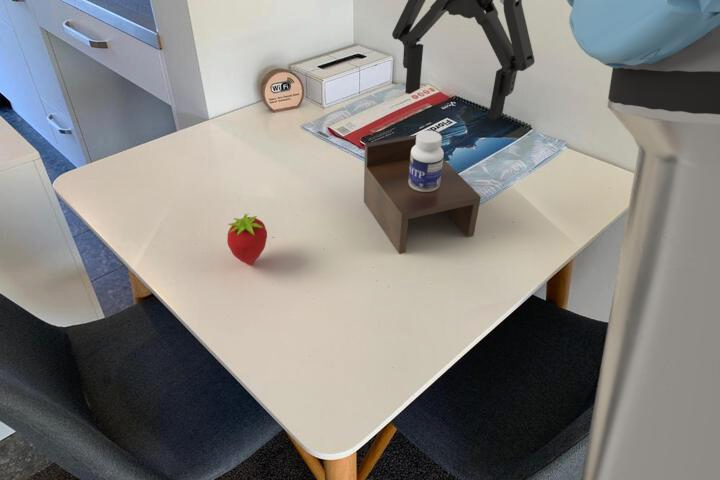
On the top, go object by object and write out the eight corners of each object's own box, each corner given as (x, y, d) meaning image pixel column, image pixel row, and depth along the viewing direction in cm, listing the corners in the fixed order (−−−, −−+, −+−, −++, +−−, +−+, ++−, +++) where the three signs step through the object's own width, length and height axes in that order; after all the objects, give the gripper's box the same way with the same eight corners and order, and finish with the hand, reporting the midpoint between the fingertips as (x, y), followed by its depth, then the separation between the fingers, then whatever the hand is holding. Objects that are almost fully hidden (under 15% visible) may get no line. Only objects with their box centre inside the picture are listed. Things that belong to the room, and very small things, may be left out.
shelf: (473, 235, 89) (485, 175, 82) (399, 254, 85) (403, 192, 78) (431, 187, 101) (437, 130, 93) (363, 201, 97) (364, 143, 89)
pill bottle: (401, 181, 87) (405, 133, 82) (426, 172, 90) (431, 125, 84) (421, 196, 84) (426, 147, 78) (446, 187, 86) (453, 138, 81)
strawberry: (274, 248, 86) (268, 198, 80) (265, 280, 80) (258, 228, 74) (238, 247, 86) (229, 197, 80) (227, 278, 80) (216, 227, 74)
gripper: (590, -61, 58) (546, 118, 71) (404, -82, 70) (396, 74, 83) (564, -52, 53) (522, 138, 66) (370, -76, 65) (367, 88, 78)
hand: (452, 103), depth 74 cm, fingers open, 13 cm apart
